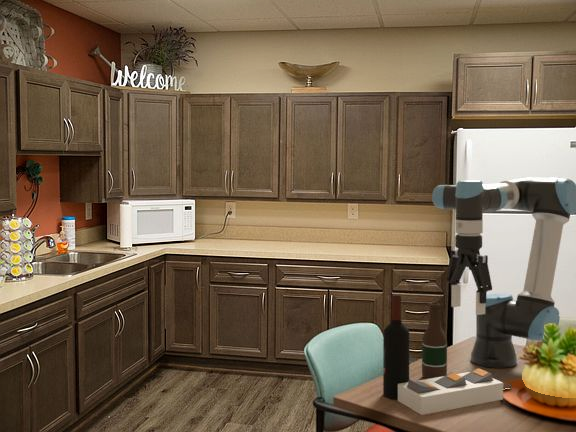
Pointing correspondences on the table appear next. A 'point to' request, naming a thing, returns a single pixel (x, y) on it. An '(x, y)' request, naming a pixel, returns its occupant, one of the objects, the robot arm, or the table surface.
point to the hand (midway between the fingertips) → (467, 310)
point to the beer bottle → (434, 346)
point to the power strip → (450, 395)
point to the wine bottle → (395, 352)
